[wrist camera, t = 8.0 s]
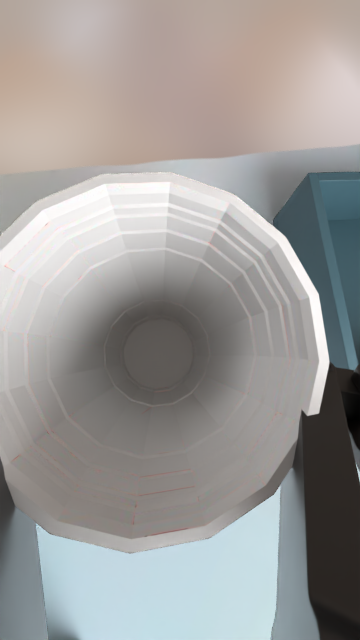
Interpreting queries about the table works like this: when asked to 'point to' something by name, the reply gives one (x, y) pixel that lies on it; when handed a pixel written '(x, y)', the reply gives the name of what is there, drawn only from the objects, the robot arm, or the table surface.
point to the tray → (329, 254)
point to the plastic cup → (151, 360)
